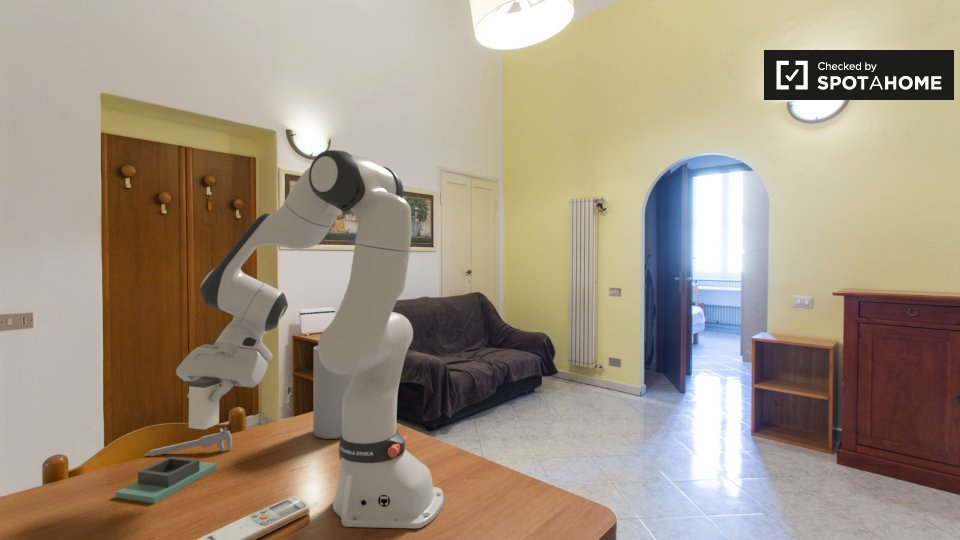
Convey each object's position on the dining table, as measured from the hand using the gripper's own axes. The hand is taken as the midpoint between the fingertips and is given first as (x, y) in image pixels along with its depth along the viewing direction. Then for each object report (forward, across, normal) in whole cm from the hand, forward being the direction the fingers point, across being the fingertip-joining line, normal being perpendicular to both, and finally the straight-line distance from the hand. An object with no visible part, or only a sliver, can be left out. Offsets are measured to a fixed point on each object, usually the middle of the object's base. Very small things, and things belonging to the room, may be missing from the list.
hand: (201, 399), depth 97 cm
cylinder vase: (-12, +11, +40) cm, 43 cm away
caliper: (+4, -18, +24) cm, 31 cm away
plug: (+4, 0, +5) cm, 6 cm away
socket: (+14, -9, +14) cm, 21 cm away
